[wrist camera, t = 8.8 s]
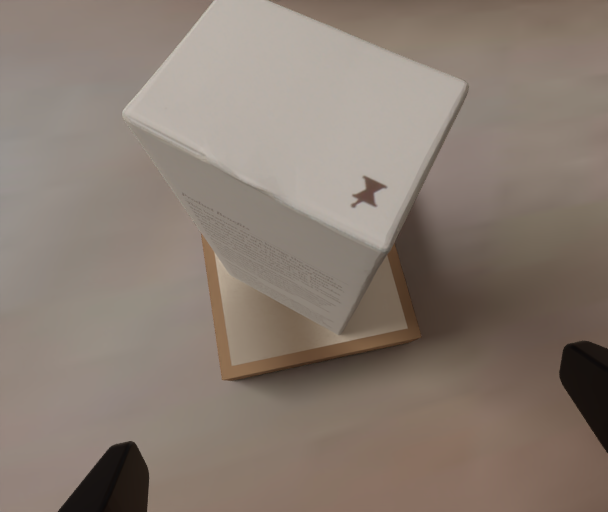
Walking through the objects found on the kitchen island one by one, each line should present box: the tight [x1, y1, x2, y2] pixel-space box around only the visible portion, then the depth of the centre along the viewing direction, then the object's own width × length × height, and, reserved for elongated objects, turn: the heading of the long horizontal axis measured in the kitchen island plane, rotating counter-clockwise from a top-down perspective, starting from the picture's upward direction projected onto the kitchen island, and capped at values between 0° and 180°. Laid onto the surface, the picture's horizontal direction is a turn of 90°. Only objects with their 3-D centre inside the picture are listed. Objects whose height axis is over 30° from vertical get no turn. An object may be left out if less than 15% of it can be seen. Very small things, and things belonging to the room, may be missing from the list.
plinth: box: [201, 233, 422, 381], centre depth 21 cm, size 9×9×2 cm
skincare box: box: [122, 0, 469, 335], centre depth 14 cm, size 6×4×12 cm
